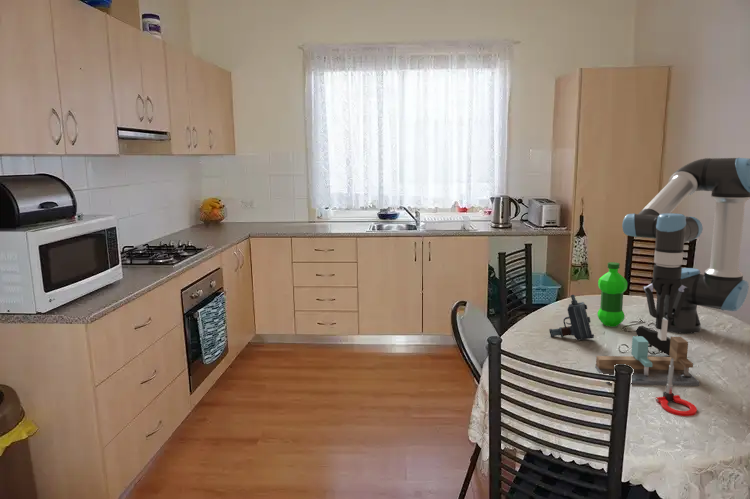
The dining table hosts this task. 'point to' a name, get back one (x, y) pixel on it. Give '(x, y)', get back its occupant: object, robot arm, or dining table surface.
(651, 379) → the bolt plate
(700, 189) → the robot arm
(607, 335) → the dining table surface
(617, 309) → the plastic bottle
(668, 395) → the tow hook
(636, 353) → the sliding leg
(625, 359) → the wooden clamp
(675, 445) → the dining table surface
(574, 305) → the gun
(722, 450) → the dining table surface
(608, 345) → the dining table surface
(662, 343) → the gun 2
